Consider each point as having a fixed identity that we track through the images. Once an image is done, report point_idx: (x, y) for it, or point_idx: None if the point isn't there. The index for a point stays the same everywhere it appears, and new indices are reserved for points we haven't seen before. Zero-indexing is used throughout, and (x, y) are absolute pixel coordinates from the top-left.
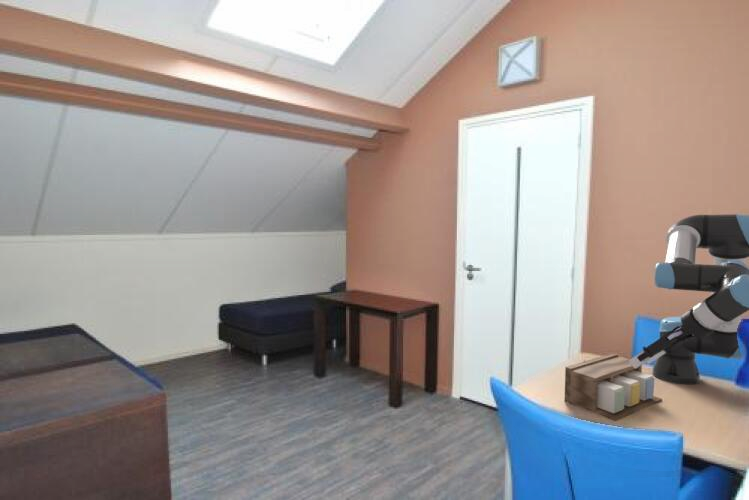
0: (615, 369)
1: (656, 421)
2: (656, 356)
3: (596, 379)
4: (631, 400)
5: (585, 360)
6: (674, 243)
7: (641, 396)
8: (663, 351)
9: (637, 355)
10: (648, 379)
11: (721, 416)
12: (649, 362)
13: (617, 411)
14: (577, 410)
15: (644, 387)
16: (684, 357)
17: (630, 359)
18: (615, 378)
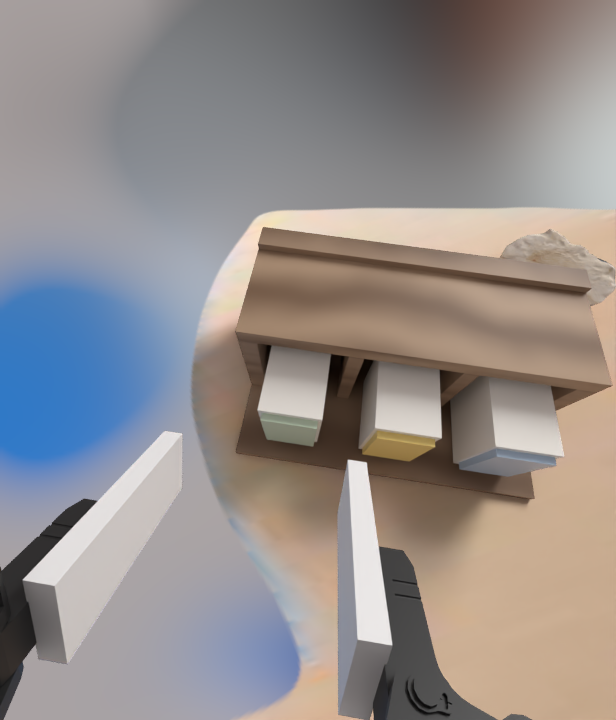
0: (410, 344)
1: (333, 551)
2: (339, 589)
3: (247, 336)
4: (365, 448)
5: (556, 231)
6: None
7: (457, 451)
8: (342, 697)
9: (112, 491)
10: (513, 454)
11: None
12: (338, 523)
13: (274, 440)
14: (234, 351)
15: (475, 453)
16: None
17: (155, 442)
18: (389, 365)
